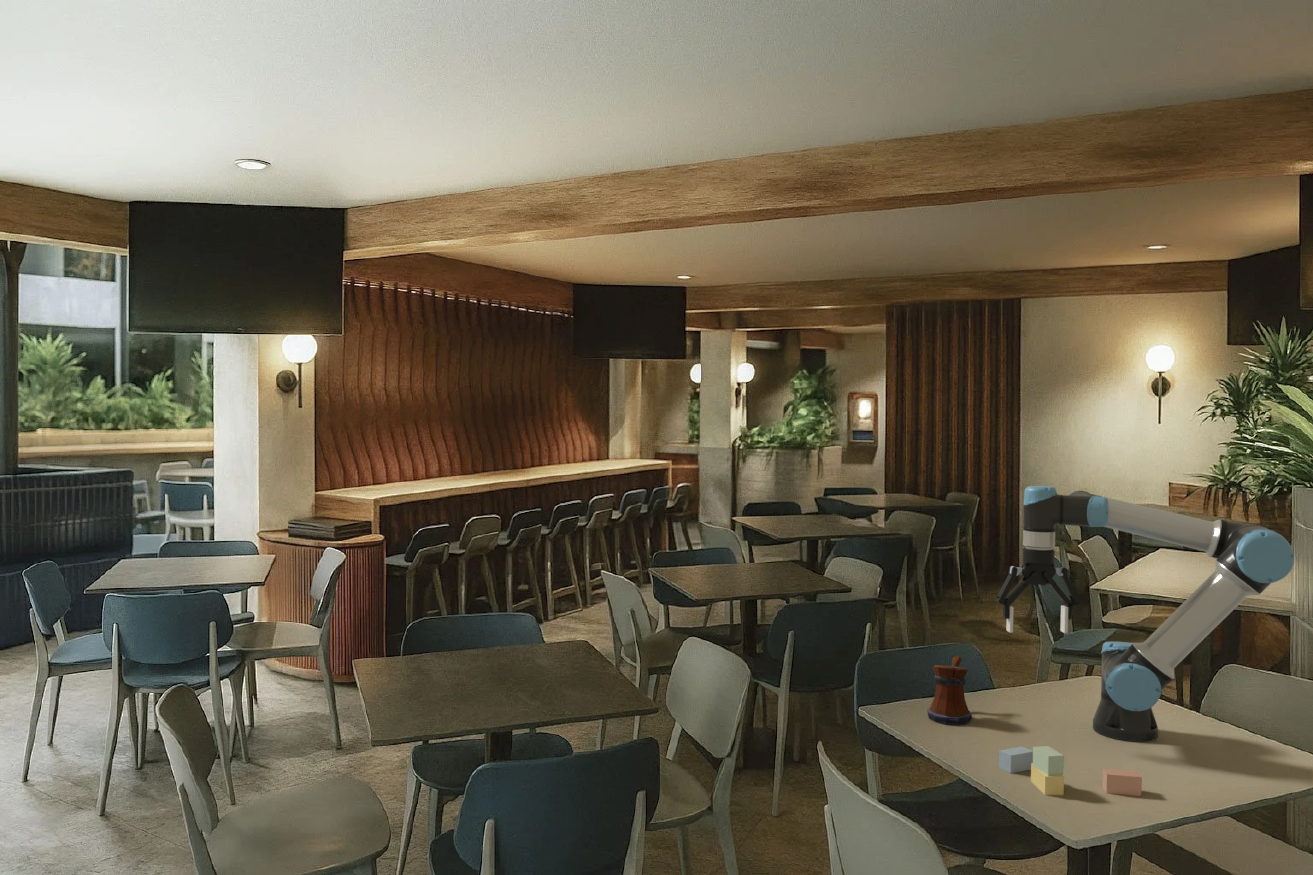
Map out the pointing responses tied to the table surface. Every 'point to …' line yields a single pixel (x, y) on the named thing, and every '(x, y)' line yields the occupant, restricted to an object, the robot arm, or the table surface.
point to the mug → (950, 695)
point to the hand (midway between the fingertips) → (1036, 631)
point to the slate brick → (1015, 759)
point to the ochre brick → (1047, 782)
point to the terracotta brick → (1122, 782)
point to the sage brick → (1048, 760)
